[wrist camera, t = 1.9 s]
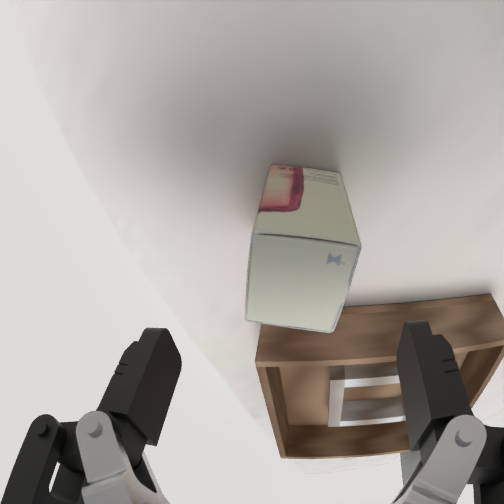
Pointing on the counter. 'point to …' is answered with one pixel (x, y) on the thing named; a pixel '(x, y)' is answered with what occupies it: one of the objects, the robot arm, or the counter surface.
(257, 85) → the counter surface
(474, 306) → the crate
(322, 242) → the small box
